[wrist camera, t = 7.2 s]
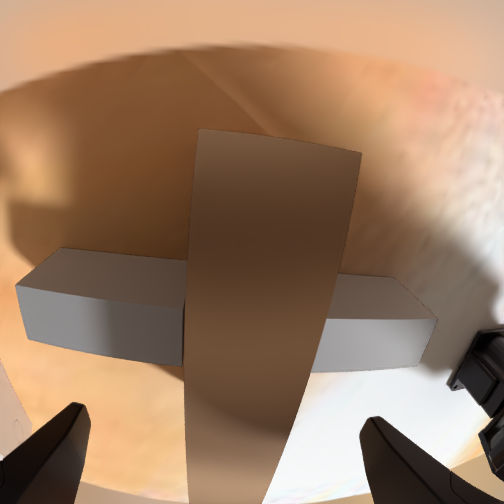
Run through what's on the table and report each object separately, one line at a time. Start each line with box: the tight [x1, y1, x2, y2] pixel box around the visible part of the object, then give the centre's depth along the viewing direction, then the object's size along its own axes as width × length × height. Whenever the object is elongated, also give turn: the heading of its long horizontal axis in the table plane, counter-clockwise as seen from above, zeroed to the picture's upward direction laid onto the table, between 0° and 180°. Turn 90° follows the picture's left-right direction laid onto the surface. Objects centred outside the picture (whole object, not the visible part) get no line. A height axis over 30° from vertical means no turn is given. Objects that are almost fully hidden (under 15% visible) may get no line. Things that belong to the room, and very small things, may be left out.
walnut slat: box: [184, 129, 362, 504], centre depth 13 cm, size 16×3×10 cm, turn 173°
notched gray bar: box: [15, 248, 438, 373], centre depth 15 cm, size 20×3×5 cm, turn 83°
